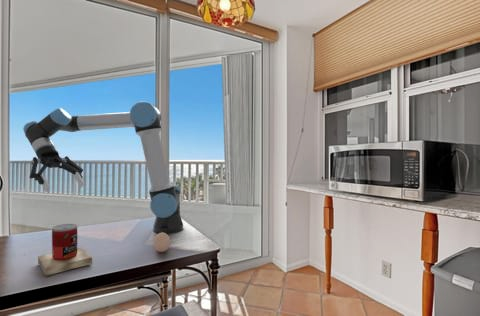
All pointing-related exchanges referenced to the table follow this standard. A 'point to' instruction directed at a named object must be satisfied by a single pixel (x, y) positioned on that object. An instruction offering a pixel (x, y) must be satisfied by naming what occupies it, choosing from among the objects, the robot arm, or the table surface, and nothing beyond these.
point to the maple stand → (63, 262)
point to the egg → (161, 242)
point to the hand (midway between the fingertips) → (66, 187)
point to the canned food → (64, 241)
